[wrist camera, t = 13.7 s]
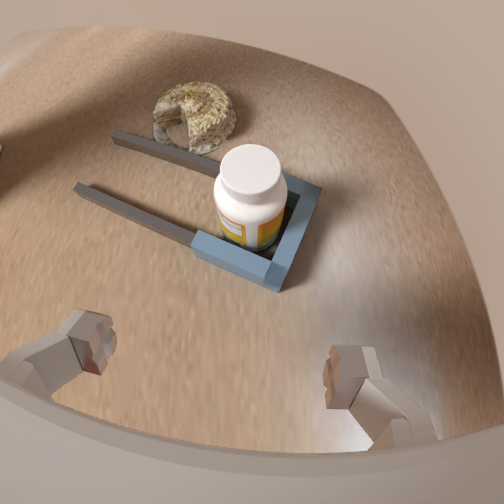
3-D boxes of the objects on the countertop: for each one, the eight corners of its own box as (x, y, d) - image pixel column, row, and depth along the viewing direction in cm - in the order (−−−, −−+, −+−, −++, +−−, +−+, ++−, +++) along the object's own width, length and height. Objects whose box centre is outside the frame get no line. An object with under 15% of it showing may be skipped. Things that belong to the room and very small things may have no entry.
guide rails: (79, 195, 29) (73, 189, 28) (119, 137, 32) (115, 129, 30) (198, 251, 27) (195, 246, 26) (238, 177, 30) (238, 169, 28)
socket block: (196, 256, 27) (190, 245, 24) (241, 173, 30) (240, 156, 27) (278, 293, 26) (281, 285, 24) (315, 203, 29) (322, 188, 26)
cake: (190, 90, 35) (187, 58, 30) (254, 117, 34) (258, 83, 29) (136, 136, 32) (125, 103, 27) (202, 171, 30) (198, 136, 25)
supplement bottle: (278, 199, 29) (289, 135, 20) (281, 253, 28) (296, 203, 18) (222, 200, 29) (211, 136, 20) (221, 254, 27) (206, 204, 18)
